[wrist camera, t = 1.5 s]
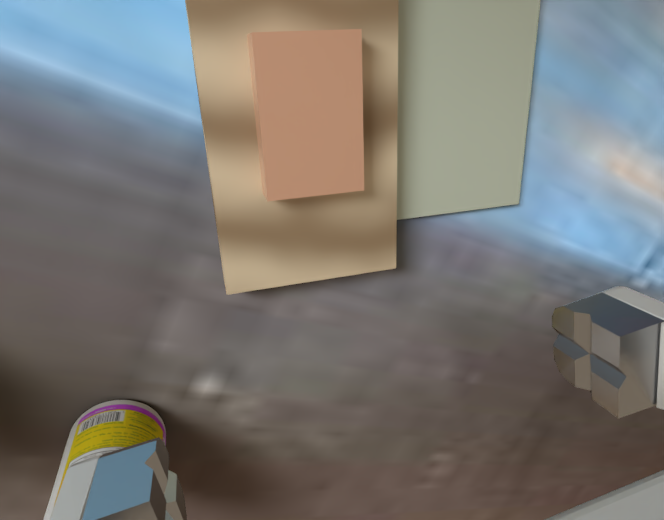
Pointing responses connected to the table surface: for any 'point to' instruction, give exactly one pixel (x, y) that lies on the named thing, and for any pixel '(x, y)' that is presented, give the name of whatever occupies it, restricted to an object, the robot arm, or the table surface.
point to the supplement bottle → (107, 435)
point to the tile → (308, 111)
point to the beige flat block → (243, 157)
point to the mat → (462, 103)
